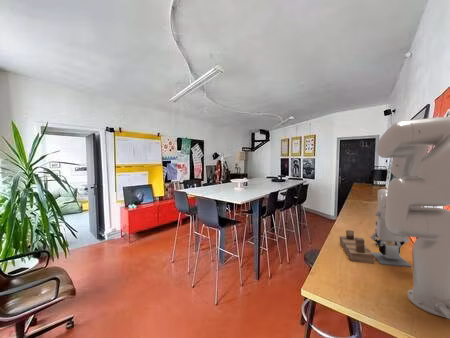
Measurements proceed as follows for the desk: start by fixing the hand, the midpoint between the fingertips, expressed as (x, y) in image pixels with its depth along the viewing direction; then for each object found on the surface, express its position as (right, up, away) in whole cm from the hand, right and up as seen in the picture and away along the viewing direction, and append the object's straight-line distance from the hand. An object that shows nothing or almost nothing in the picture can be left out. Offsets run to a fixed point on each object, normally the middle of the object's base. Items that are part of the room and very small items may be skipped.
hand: (389, 253), depth 93 cm
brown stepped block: (-10, -3, +10) cm, 14 cm away
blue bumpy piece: (+9, -2, +15) cm, 18 cm away
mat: (0, -3, 0) cm, 3 cm away
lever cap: (0, -1, 0) cm, 1 cm away
